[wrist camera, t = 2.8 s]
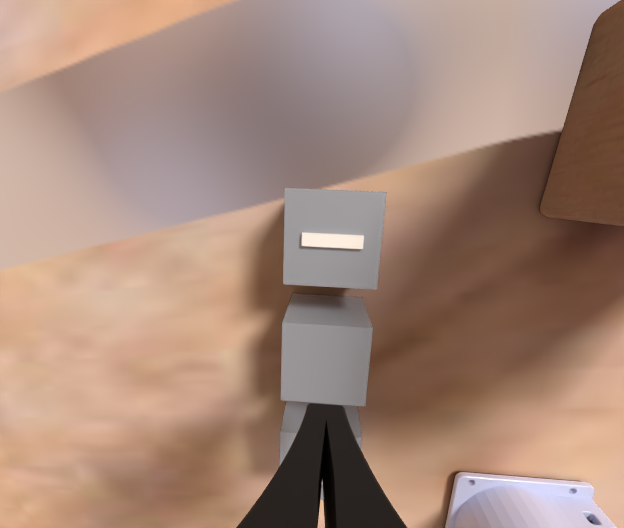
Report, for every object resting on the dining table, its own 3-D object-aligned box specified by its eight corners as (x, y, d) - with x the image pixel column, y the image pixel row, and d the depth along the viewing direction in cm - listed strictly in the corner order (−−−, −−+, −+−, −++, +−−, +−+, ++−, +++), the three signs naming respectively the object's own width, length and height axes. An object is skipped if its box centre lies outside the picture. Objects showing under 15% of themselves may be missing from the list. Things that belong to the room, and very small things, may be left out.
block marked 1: (371, 193, 17) (387, 192, 12) (365, 267, 18) (377, 291, 13) (295, 190, 17) (284, 187, 13) (293, 263, 18) (282, 285, 14)
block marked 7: (354, 385, 20) (362, 441, 15) (350, 438, 21) (356, 506, 16) (290, 380, 20) (279, 434, 16) (289, 434, 21) (278, 499, 17)
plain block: (362, 296, 18) (372, 328, 14) (356, 359, 20) (365, 406, 15) (292, 293, 19) (282, 322, 14) (291, 355, 20) (280, 400, 15)
